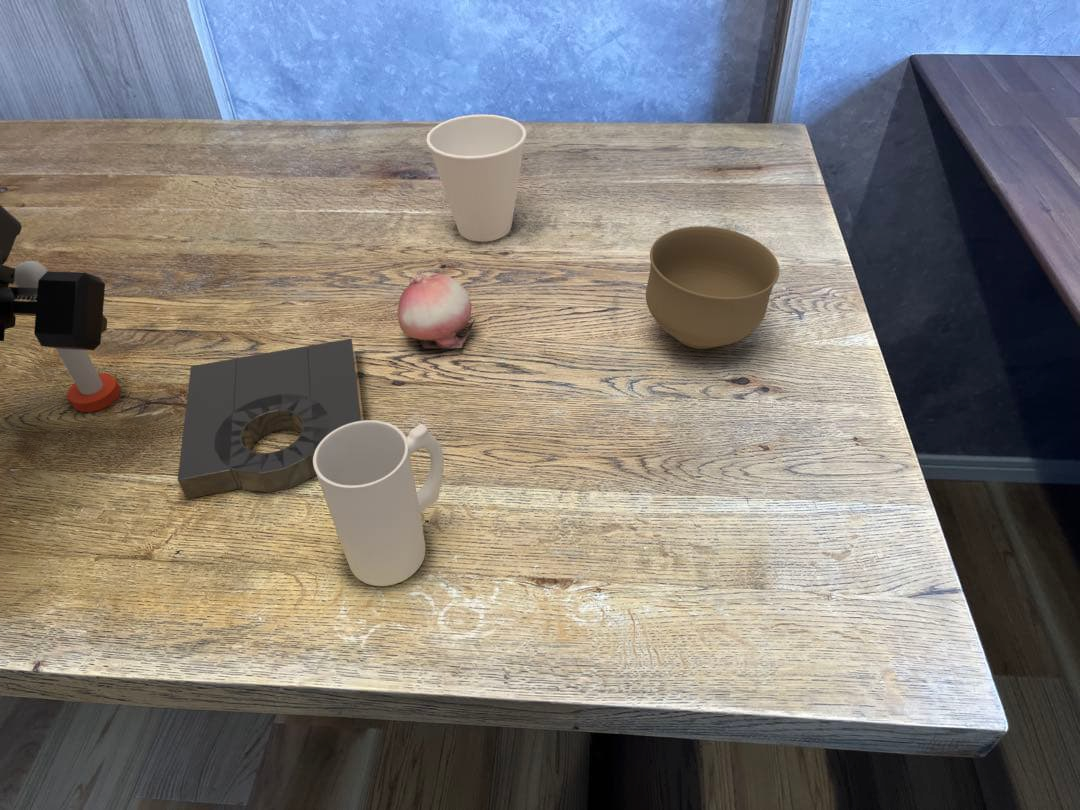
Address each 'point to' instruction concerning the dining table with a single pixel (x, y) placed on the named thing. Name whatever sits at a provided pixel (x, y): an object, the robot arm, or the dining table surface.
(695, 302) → the bowl
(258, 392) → the sink board
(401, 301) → the onion
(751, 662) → the dining table surface
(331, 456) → the mug
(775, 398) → the dining table surface
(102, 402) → the stopper
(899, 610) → the dining table surface
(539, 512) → the dining table surface
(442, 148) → the cup
